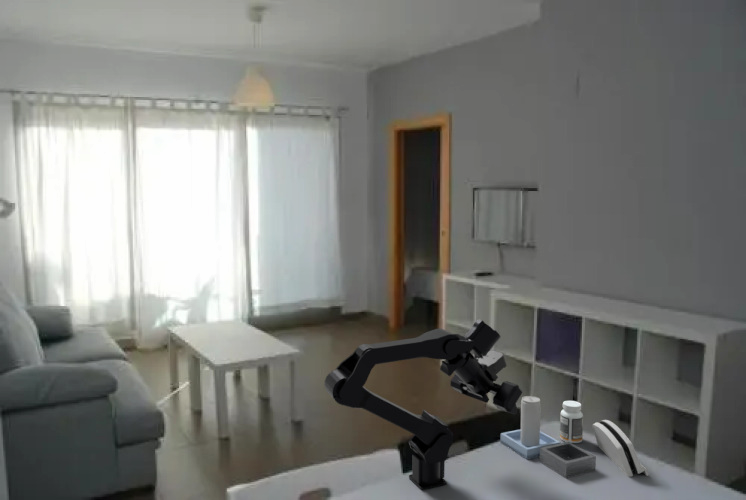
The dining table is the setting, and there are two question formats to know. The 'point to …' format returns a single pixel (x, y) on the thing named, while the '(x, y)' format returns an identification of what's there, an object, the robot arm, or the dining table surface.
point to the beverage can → (530, 421)
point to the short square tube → (575, 466)
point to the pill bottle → (571, 422)
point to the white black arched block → (617, 447)
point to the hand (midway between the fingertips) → (501, 406)
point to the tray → (514, 442)
